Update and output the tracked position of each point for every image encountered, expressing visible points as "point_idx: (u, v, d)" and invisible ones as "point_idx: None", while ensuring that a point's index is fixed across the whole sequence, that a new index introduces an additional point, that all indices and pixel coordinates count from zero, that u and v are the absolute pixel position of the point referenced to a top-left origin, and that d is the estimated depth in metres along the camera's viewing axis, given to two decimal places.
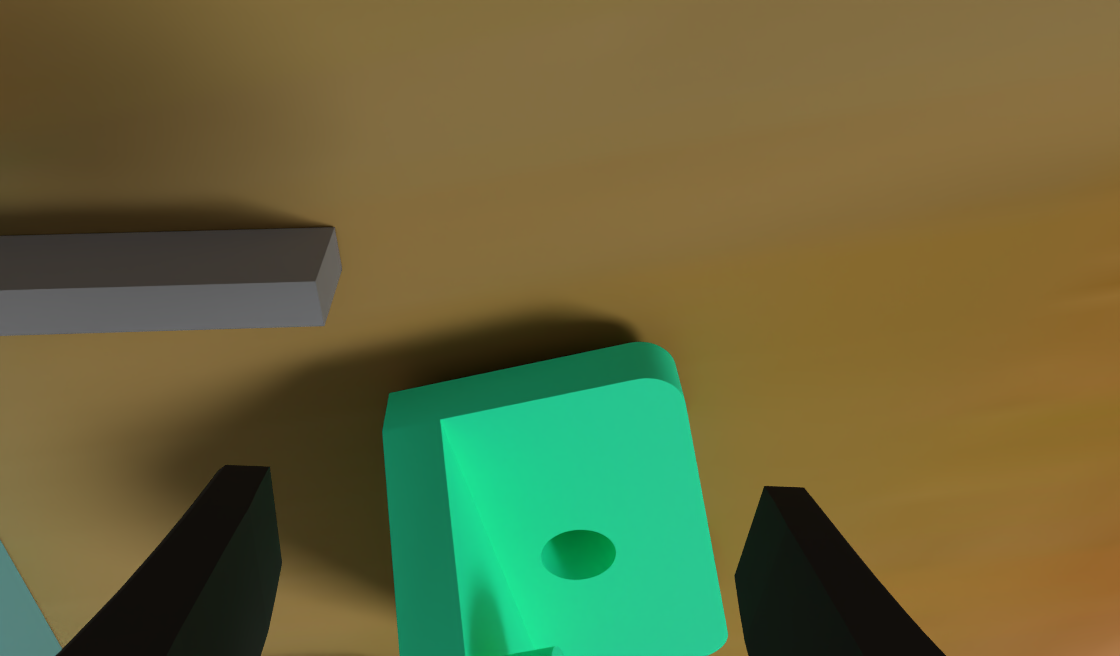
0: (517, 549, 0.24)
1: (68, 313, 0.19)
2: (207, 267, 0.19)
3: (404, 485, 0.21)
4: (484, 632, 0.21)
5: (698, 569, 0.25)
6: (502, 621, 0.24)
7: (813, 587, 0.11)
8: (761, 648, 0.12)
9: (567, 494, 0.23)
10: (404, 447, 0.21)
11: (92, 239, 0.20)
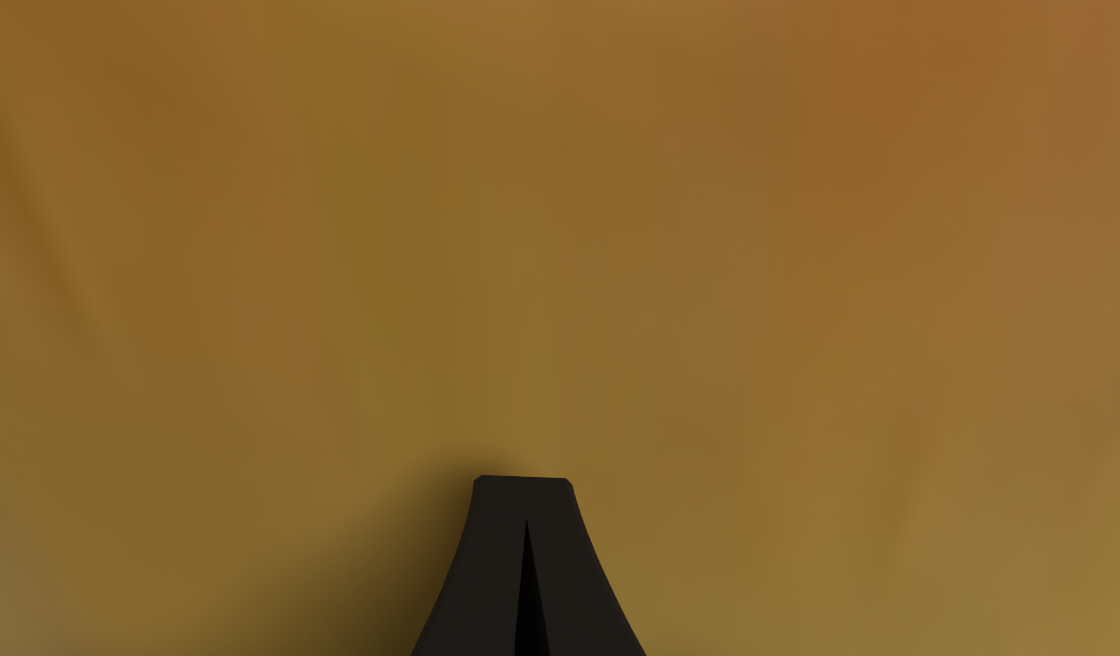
0: None
1: None
2: None
3: None
4: None
5: None
6: None
7: (534, 580, 0.10)
8: (518, 643, 0.12)
9: None
10: None
11: None
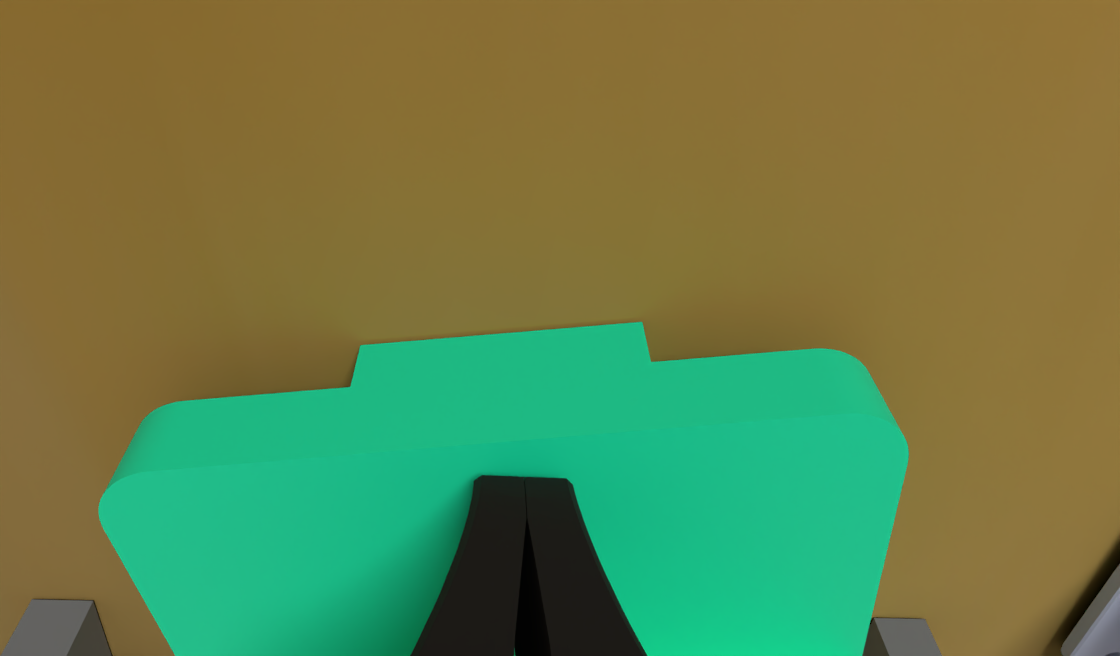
0: None
1: None
2: None
3: None
4: None
5: (609, 459, 0.12)
6: None
7: (535, 579, 0.10)
8: (519, 643, 0.12)
9: (369, 612, 0.14)
10: None
11: None
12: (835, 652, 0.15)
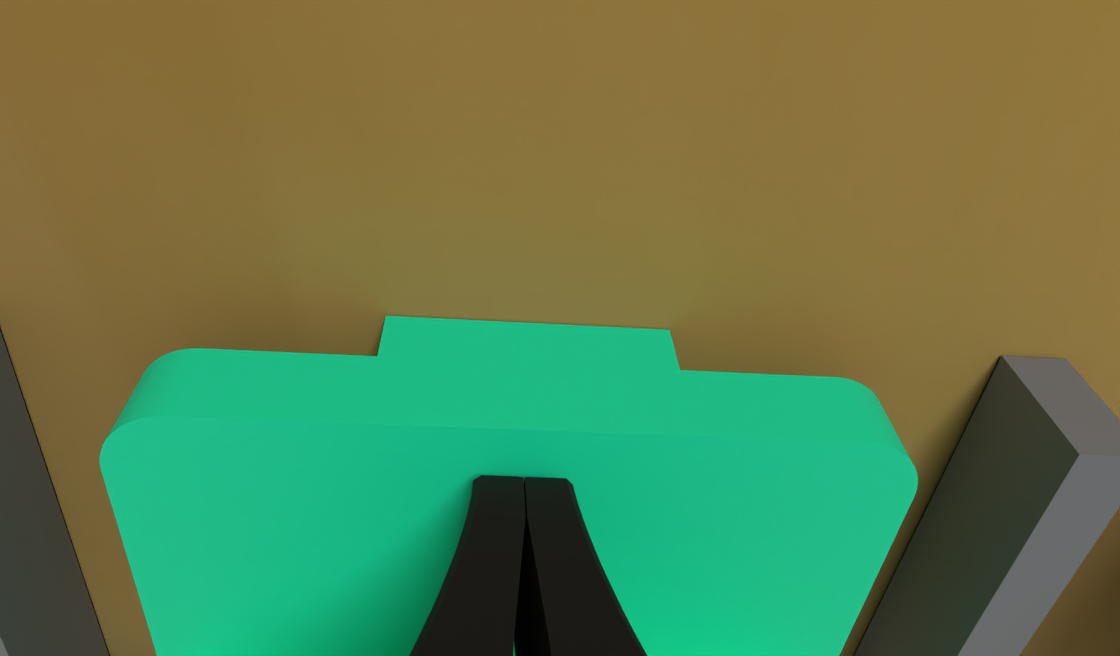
0: None
1: None
2: None
3: None
4: None
5: (636, 459, 0.12)
6: None
7: (535, 579, 0.10)
8: (519, 643, 0.12)
9: (359, 588, 0.14)
10: None
11: None
12: None
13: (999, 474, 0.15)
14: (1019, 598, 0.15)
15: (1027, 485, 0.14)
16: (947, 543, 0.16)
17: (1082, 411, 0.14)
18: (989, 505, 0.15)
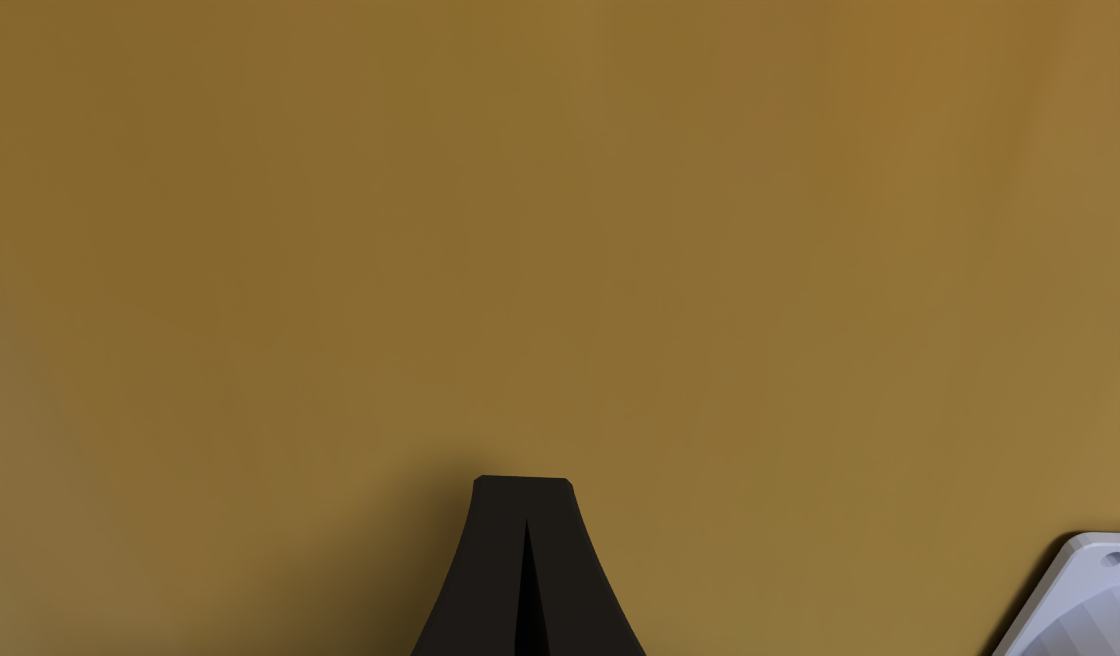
0: None
1: None
2: None
3: None
4: None
5: None
6: None
7: (534, 579, 0.10)
8: (518, 643, 0.12)
9: None
10: None
11: None
12: None
13: None
14: None
15: None
16: None
17: None
18: None
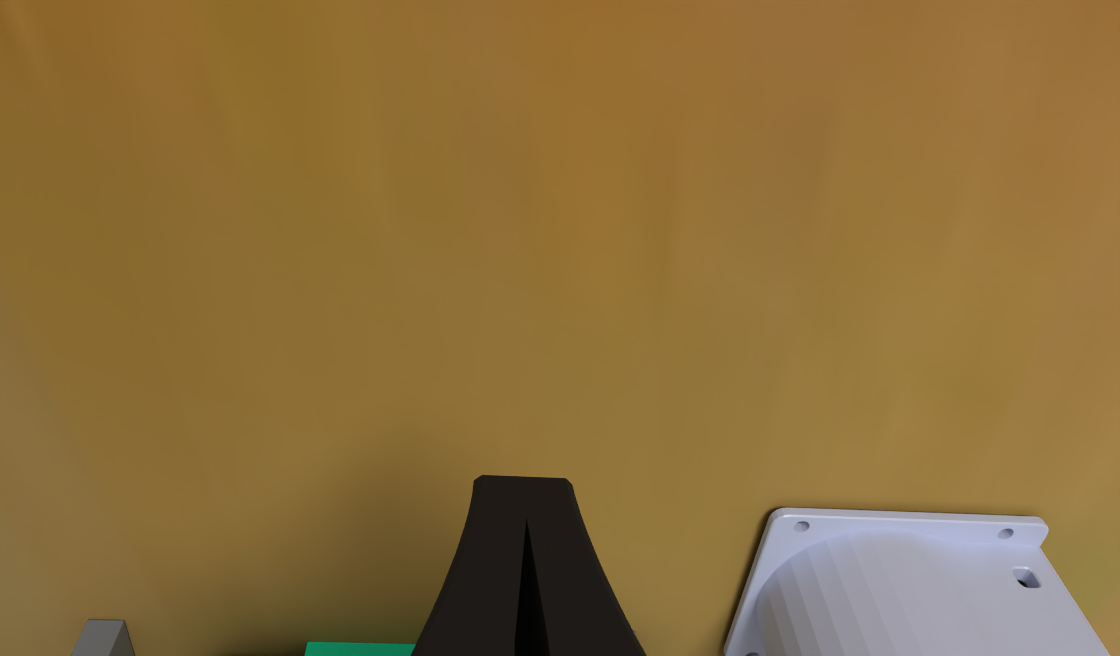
0: None
1: None
2: None
3: None
4: None
5: None
6: None
7: (534, 579, 0.10)
8: (518, 643, 0.12)
9: None
10: None
11: None
12: None
13: None
14: None
15: None
16: None
17: None
18: None
